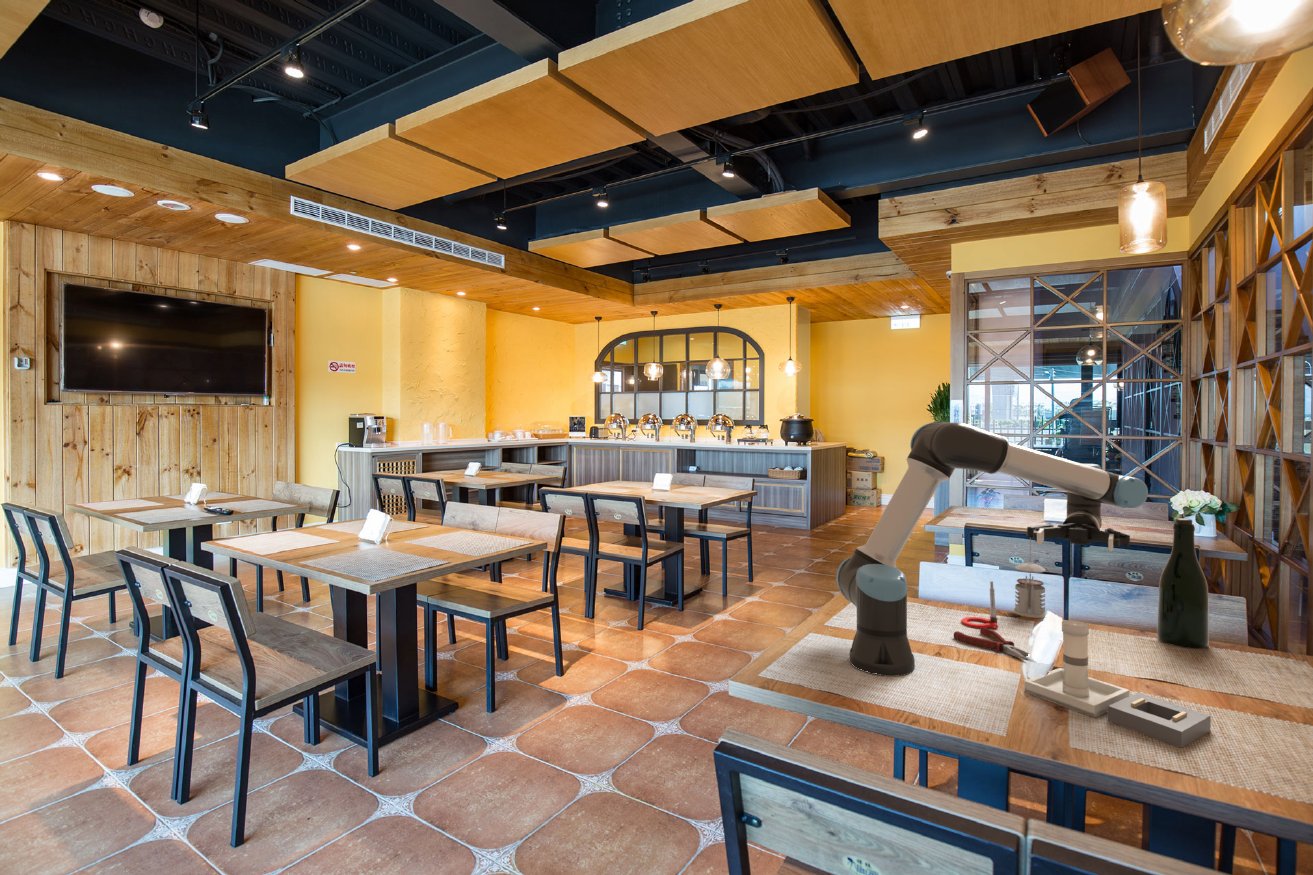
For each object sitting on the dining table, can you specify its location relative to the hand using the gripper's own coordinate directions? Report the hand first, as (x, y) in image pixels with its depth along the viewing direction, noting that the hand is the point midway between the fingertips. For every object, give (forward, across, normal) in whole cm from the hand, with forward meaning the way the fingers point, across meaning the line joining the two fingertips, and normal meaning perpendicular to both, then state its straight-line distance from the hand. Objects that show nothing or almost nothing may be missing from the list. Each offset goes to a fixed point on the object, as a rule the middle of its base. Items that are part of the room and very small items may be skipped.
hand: (1073, 541), depth 143 cm
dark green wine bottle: (-45, -21, -32) cm, 60 cm away
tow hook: (-31, +25, -32) cm, 51 cm away
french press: (-51, +15, -32) cm, 62 cm away
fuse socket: (+15, -15, -32) cm, 38 cm away
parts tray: (+9, -1, -32) cm, 33 cm away
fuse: (+9, -1, -31) cm, 33 cm away
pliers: (-13, +19, -33) cm, 40 cm away
